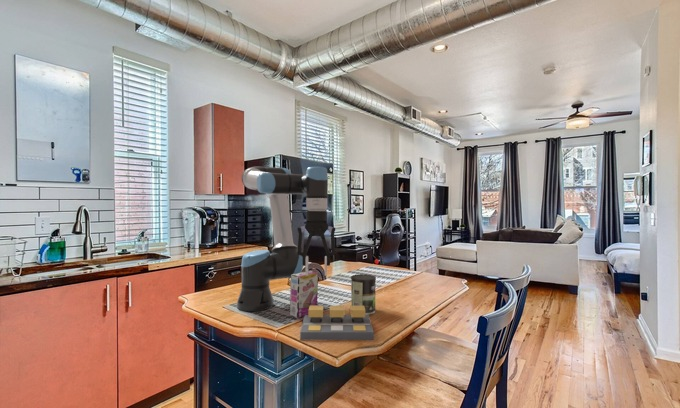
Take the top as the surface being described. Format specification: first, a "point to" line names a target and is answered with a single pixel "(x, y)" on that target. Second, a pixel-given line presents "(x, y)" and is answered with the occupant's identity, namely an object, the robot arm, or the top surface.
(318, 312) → the button
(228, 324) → the top surface
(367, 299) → the coffee can
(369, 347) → the top surface
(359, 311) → the button
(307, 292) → the candy bar box
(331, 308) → the button
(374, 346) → the top surface
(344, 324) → the board
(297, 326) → the top surface
